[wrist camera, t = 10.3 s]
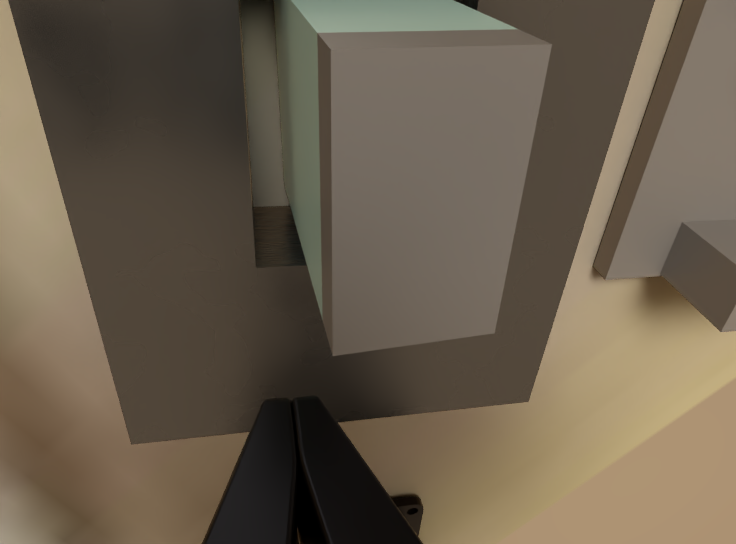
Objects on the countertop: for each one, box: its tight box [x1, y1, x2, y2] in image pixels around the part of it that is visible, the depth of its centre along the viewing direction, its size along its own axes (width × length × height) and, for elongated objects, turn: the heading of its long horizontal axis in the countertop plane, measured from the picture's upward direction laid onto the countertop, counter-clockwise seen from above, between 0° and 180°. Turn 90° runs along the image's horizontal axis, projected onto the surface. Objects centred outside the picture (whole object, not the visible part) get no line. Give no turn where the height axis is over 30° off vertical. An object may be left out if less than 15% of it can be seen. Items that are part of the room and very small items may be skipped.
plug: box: [274, 0, 552, 356], centre depth 11 cm, size 5×3×7 cm, turn 178°
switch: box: [8, 0, 655, 444], centre depth 13 cm, size 18×12×3 cm, turn 177°
